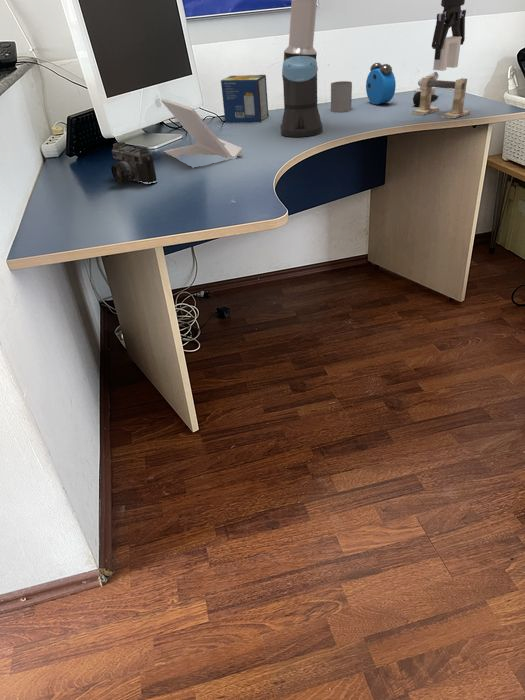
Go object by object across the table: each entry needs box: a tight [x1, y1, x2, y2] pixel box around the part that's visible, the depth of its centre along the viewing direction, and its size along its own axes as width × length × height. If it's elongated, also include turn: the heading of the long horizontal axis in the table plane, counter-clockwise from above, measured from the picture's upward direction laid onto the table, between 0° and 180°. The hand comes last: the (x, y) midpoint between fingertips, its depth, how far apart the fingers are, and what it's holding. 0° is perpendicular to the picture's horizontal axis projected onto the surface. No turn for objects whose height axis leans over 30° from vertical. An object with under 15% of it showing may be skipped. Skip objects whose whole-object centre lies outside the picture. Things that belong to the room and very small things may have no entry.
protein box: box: [220, 74, 269, 123], centre depth 209 cm, size 10×15×16 cm
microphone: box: [412, 91, 439, 107], centre depth 214 cm, size 6×6×20 cm
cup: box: [330, 80, 353, 113], centre depth 212 cm, size 8×8×10 cm
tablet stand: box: [160, 98, 244, 158], centre depth 169 cm, size 18×25×17 cm
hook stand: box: [411, 75, 471, 119], centre depth 193 cm, size 10×18×12 cm, turn 41°
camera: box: [110, 141, 158, 184], centre depth 151 cm, size 18×9×10 cm, turn 47°
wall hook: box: [413, 71, 440, 96], centre depth 223 cm, size 9×10×10 cm
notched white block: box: [432, 35, 462, 72], centre depth 185 cm, size 9×4×10 cm, turn 131°
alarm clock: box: [365, 62, 397, 105], centre depth 215 cm, size 13×6×15 cm, turn 24°
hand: (445, 67), depth 188 cm, fingers closed on notched white block, 9 cm apart
